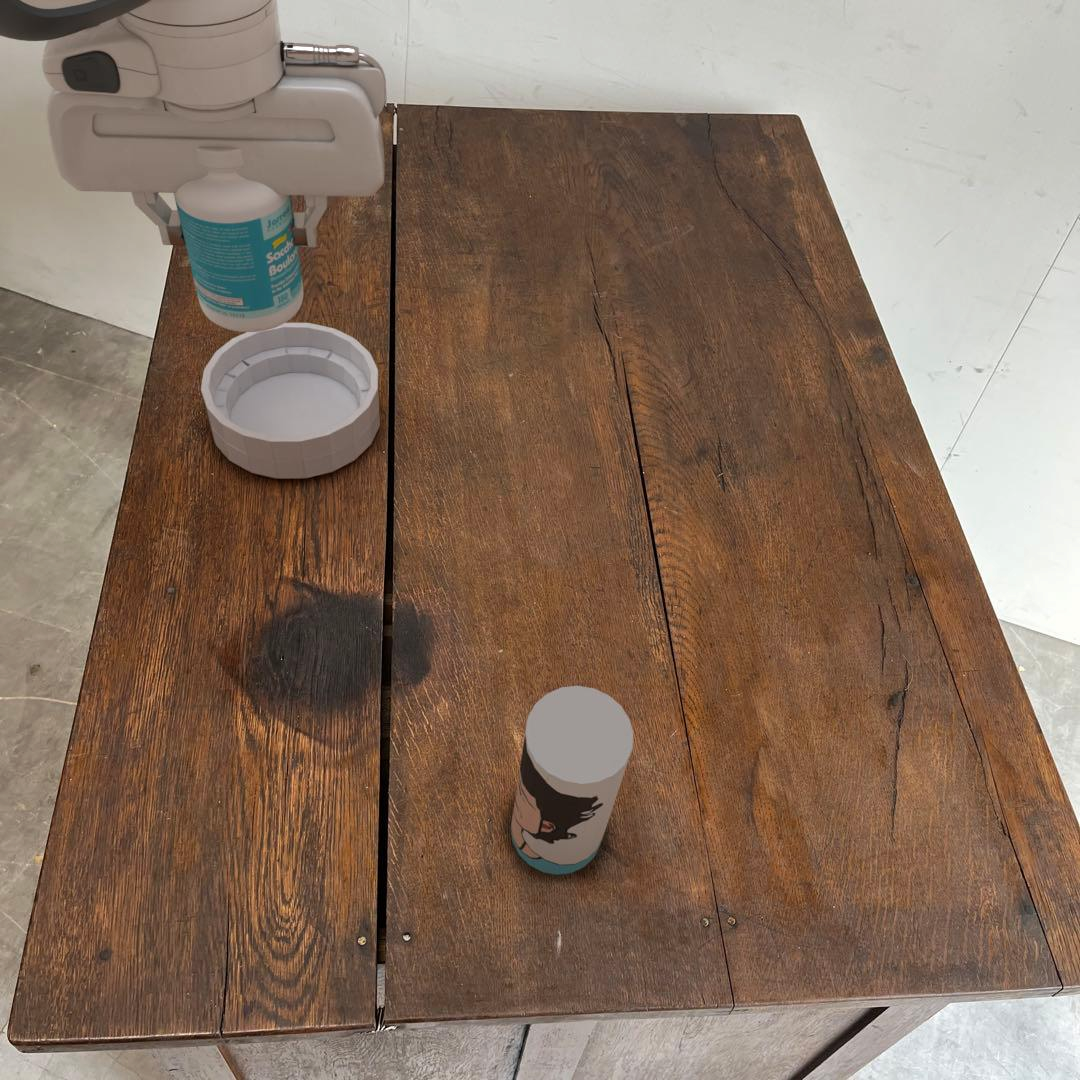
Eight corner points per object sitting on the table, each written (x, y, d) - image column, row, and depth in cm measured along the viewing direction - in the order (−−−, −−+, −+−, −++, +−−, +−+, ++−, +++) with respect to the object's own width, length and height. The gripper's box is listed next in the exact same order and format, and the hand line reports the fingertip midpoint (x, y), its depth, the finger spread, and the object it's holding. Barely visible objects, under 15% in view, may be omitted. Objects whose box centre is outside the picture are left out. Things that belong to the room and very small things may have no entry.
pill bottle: (300, 339, 73) (274, 167, 63) (193, 336, 72) (149, 163, 62) (309, 273, 78) (287, 103, 67) (209, 270, 77) (171, 98, 67)
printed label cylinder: (565, 770, 78) (588, 668, 67) (620, 840, 75) (655, 746, 64) (492, 818, 76) (504, 719, 64) (547, 893, 72) (569, 804, 61)
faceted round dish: (202, 484, 93) (191, 442, 89) (220, 365, 103) (211, 321, 98) (379, 482, 95) (377, 441, 90) (380, 365, 104) (378, 323, 100)
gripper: (384, 21, 63) (393, 216, 74) (36, 8, 61) (97, 211, 72) (383, 74, 59) (392, 271, 70) (10, 62, 57) (79, 267, 68)
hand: (240, 241), depth 71 cm, fingers closed on pill bottle, 7 cm apart
